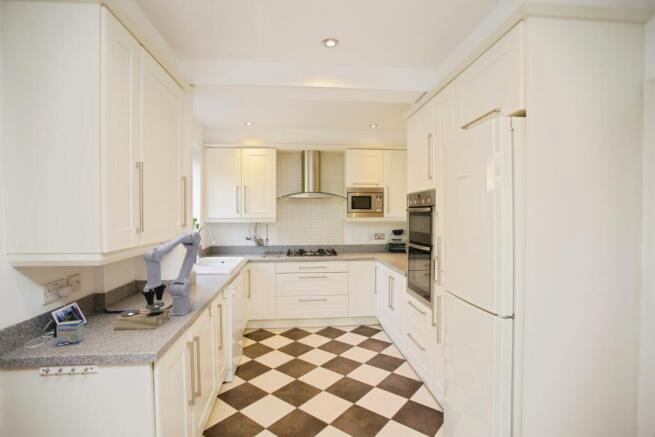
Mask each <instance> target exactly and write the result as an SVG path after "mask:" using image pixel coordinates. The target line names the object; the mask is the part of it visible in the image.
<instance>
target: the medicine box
mask: <svg viewBox="0 0 655 437" xmlns="http://www.w3.org/2000/svg"><path fill="white" fill-rule="evenodd" d="M84 323H85V320H84V319H78V320H69V321H61V322H60V323H57V325H56V345H57V344H65V343H77V344H80V343H81V342H82V340H85V324H84ZM79 342H80V343H79Z"/></svg>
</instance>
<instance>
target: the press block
mask: <svg viewBox="0 0 655 437" xmlns="http://www.w3.org/2000/svg"><path fill="white" fill-rule="evenodd" d="M139 310H140V314H138V315H135V316H131V317H121V316H120V315H119V316H117V317H115V318H114V319H113V327H114V328H113V330H114V331H126V330H127V331H128V330H132V331H134V330H135V331H136V330H156V329H157V327H158V328H160V327H161V326H162V325H163V324H165V323H166V322H167V321H169V320H170V316H171V315H170V314H171V313H170V308H162V309H161V308H160V314H159V315H151V310H150V309H139ZM160 325H161V326H160Z"/></svg>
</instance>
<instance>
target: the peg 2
mask: <svg viewBox="0 0 655 437" xmlns="http://www.w3.org/2000/svg"><path fill="white" fill-rule="evenodd" d="M163 307H165V302H163V301H156V302H154V303H153V305H148V304H145V310H151V315H159V314H160V309H161V308H163Z"/></svg>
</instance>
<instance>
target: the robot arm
mask: <svg viewBox="0 0 655 437" xmlns="http://www.w3.org/2000/svg"><path fill="white" fill-rule="evenodd" d="M201 241H202V237H201V234H200V233H199V232H197V231H191V232H188V231H182V232H180V233H178V235H177V236H175V237H174V238H173V239H172V240H170V241H169V242H166V241H165V242H164V241H163V242H161V244H160V245H158V246H155V247H154V248H153V249H148V250H146V252H145V253H144V255H143V261H145V265H146V277H147V278H146V280H147V281H146V282H147V283H145V286H144V287H143V290H142V291H141V294H142V295H143V297H144V298H145V302H146V303H147V304H148V305H153V303H155V302H154V301H155V300H156V302H160V301H162V300H163V297H164V296H163V295H164V292H165V290H166V288H167V284H165V280H164V279H163V280H162V275H161V274H162V270H161V268H162V267H161V262H162V261H163V259H164V257H166V256H168V254H170V253H171V252H172V251H173V249H174V248H176V247H177V246H180V245H181V244H182V246H183V247H184V248H186V252H185V255H184V258H183V262H182V264H181V267H180V270H179V273H178V276H177V278H175V279H174V280H172V282H171V284H170V285H169V287H168V294H169V295H170V297H171V298H172V312H171V313H170V316H185V315H187V314H188V313H189V312H191V311H192V310H193V308H191V298H190V296H189V295H190V293H191V291H192V290H191V289H192V288H191V287H192V283H191V282H192V281H190V277H191V273H192V269H193V266H194V264H195V260H196V258H197V254H198V252H199V248H200V244H201ZM147 304H146V305H147Z"/></svg>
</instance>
